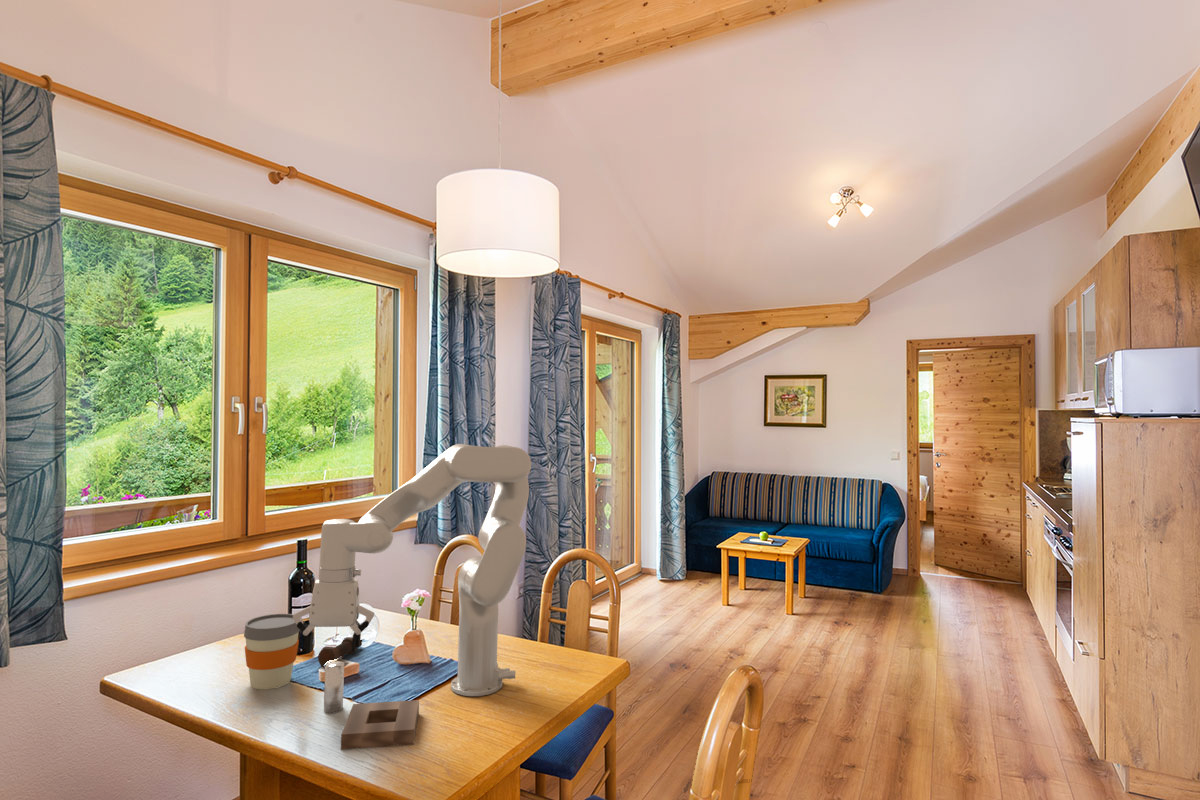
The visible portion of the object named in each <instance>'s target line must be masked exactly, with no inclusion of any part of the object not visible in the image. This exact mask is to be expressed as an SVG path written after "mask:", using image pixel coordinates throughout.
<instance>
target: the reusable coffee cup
mask: <svg viewBox="0 0 1200 800" xmlns="http://www.w3.org/2000/svg"><path fill="white" fill-rule="evenodd" d="M293 615H294V614H293V613H273V614H264V615H260V616H256V617H254V618H251V619H249V620H247V621H246V622H245V626H244V633H243V637H244V638H245V646H244V656H245V664H246V667H247V668H248V673H249V674H248V675H249V683H250V684H249V686H250V687H251V688H252V689H255V690H261V691H262V690H272V689H277V688H281V687H283V686H286V685H287V684H289V683H291V680H292V675H293V674H292V673H293V667H294V663H295V662H296V660H297V655H298V649H299V643H300V640H299V632H301V630H300V629H299V628H298V627H297V624H296V623H295V621H294V619H293Z"/></svg>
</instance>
